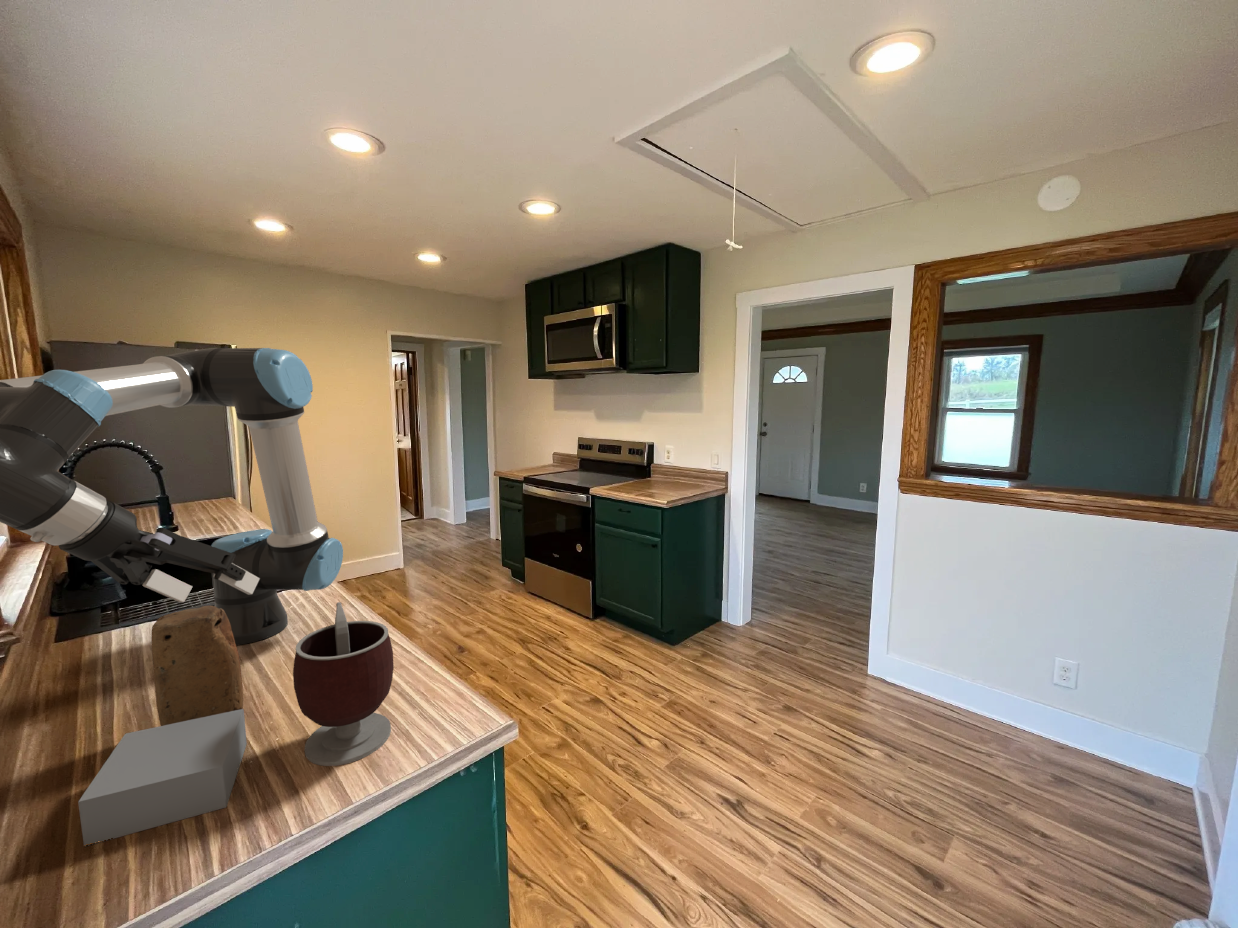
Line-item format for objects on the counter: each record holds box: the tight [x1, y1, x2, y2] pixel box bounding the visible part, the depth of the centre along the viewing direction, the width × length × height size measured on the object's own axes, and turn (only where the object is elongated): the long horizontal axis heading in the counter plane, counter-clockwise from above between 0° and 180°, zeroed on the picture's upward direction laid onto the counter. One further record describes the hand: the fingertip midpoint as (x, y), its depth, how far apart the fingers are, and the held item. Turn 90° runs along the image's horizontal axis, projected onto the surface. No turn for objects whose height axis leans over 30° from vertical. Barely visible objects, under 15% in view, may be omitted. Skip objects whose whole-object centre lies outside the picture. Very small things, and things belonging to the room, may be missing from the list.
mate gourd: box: [292, 601, 395, 767], centre depth 82 cm, size 16×14×20 cm
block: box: [151, 605, 244, 726], centre depth 84 cm, size 11×8×20 cm
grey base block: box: [78, 708, 248, 846], centre depth 71 cm, size 14×14×6 cm
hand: (220, 590), depth 83 cm, fingers open, 13 cm apart
